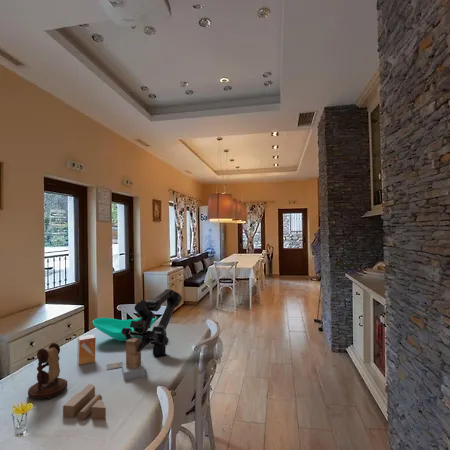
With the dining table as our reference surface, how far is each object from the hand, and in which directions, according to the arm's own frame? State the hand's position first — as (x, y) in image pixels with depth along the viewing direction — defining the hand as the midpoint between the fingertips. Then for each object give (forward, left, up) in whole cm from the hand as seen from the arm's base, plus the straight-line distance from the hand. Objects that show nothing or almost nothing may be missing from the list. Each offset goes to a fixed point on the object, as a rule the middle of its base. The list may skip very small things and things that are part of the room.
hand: (132, 350), depth 147 cm
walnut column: (-1, -1, -8) cm, 8 cm away
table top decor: (-1, -52, -12) cm, 53 cm away
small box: (+21, -25, -12) cm, 35 cm away
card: (+7, -13, -12) cm, 19 cm away
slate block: (-1, -1, -12) cm, 12 cm away
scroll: (+35, +3, -12) cm, 37 cm away
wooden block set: (+16, +22, -12) cm, 30 cm away
